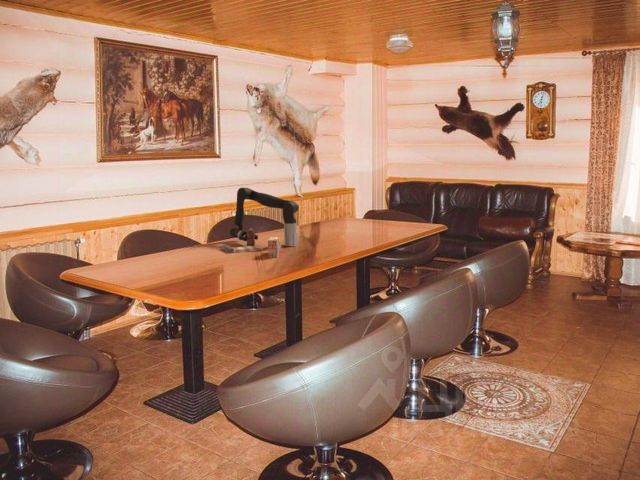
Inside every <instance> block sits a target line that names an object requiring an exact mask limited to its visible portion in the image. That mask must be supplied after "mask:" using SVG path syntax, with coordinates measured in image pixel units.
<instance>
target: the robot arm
mask: <svg viewBox="0 0 640 480" xmlns="http://www.w3.org/2000/svg"><path fill="white" fill-rule="evenodd" d="M245 200H246V201H247V200H249V201H254V202H256V203H258V204H260V205H262V206H264V207H267V208H273V209H282V219H283V224H284V225H283V232H284V233H283V234H284V235H283V237H284V239H283V241H284V244H283V245H284V246H285V247H296V246H298V245H299V244H298V243H299V242H298V241H299V240H298V232H297V219H296V218H295V215H294V214H295V213H297V212H298V211H299V204H298V203H297V202H296V201H294V200H293V201H292V200H286V199H283V198H280V197H277V196H275V195H272V194H268V193H264V192H258V191H256V190H254V189H251V188H249V187H240V188H238V190H237V192H236V207H235V216H234V220H233V224H234V225H235V226H237V227H231V228H230V229H229V235H230V237H232V238H236V239H238V240H240V241H243V242H247V230H244V220H245V210H244V206H245V205H244V203H245ZM255 240H259V235H258V234H255Z"/></svg>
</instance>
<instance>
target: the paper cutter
mask: <svg viewBox="0 0 640 480" xmlns="http://www.w3.org/2000/svg"><path fill="white" fill-rule="evenodd" d="M221 249H222V250H223V251H225V252H227V253H229V254H235V253H245V252H247V253H248V252H256V251H257V252H258V251H263V250H264V247H263V246H260V245H258V244H257V245H256V244H255V246H247V245H246V246H236V247H235V246H233V247H231V246H229V245H227V244H222V245H221Z"/></svg>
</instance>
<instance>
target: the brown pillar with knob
mask: <svg viewBox="0 0 640 480" xmlns="http://www.w3.org/2000/svg"><path fill="white" fill-rule="evenodd" d="M246 231H247V241H246V246H255V245H256V241H255V240H256V239H255V235H256V233H255V232H256V231H255V230H254V229H253V228H248V229H247V230H246Z"/></svg>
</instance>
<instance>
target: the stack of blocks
mask: <svg viewBox="0 0 640 480" xmlns="http://www.w3.org/2000/svg"><path fill="white" fill-rule="evenodd" d="M281 242H282V241H281V238H280V237H279V236H278V237H277V236H275V237H274V236H271V237H269V239H267V253H268V254H267V258H268V259H269V258H270V259H271V258H274V259H275V258H278V257H279V256H280V254H281V252H282V243H281Z"/></svg>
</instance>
